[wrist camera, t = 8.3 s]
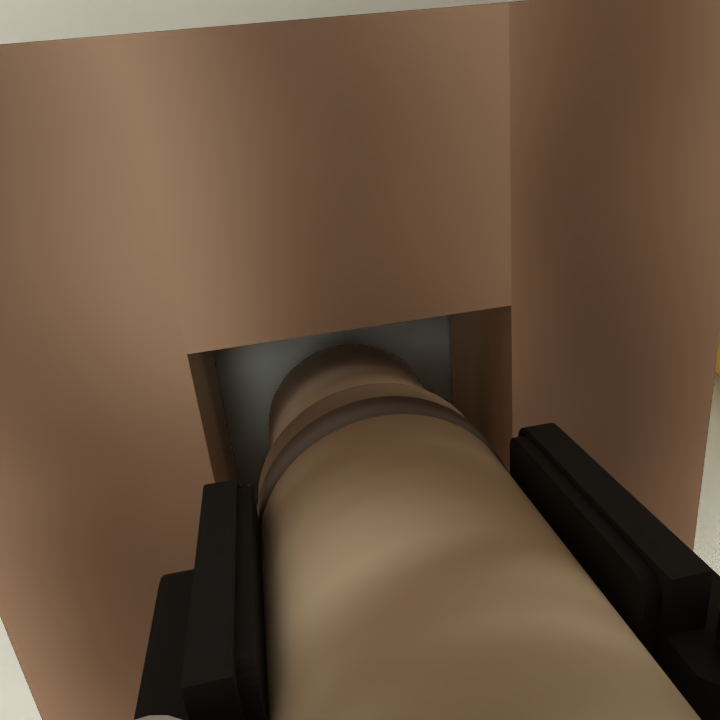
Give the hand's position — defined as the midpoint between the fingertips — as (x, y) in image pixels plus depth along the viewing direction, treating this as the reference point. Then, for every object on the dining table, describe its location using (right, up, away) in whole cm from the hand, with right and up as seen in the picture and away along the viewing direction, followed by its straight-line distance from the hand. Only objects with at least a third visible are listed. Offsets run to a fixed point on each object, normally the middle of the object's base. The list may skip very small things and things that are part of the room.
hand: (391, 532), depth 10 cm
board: (-1, +2, +6) cm, 6 cm away
